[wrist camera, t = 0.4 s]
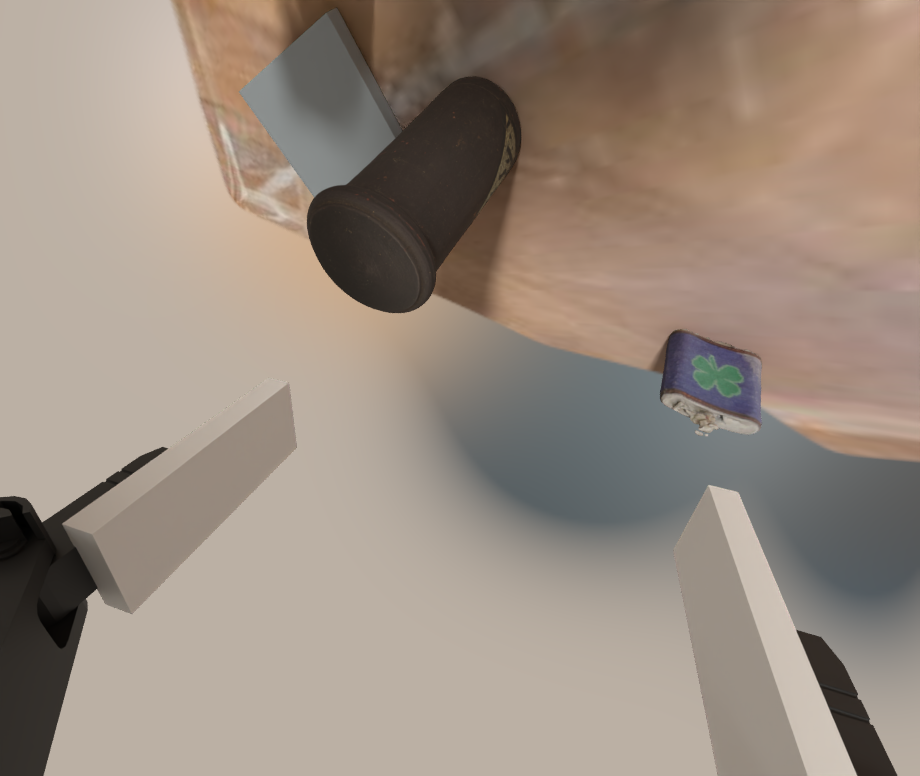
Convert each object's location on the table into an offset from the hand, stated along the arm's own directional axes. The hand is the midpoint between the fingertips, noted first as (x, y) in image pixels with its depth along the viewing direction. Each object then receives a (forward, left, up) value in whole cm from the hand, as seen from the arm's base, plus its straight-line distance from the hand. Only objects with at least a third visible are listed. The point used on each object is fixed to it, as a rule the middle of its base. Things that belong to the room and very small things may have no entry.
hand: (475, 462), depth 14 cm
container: (-2, -13, -32) cm, 34 cm away
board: (-6, -27, -32) cm, 42 cm away
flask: (+26, +2, -32) cm, 41 cm away
